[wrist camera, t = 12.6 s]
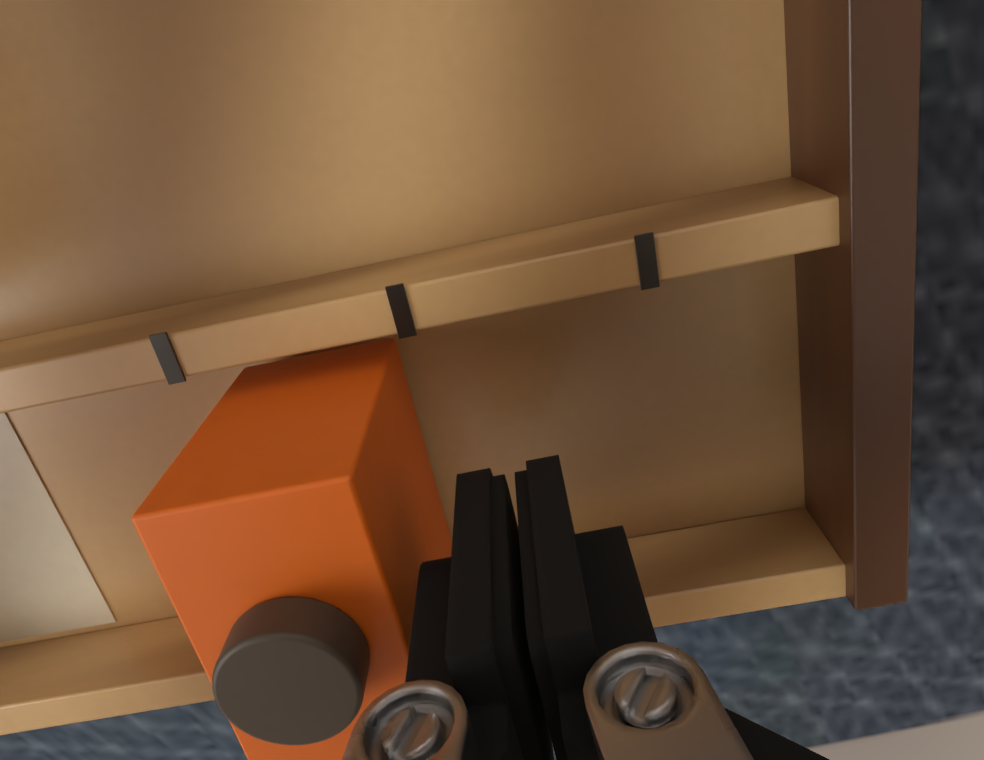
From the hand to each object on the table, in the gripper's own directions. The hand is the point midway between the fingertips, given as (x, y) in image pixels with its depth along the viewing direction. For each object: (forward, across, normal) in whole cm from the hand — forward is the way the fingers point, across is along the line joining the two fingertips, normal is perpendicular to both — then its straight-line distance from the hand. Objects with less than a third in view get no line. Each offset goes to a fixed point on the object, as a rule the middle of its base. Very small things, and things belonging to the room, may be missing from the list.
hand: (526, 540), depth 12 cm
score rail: (+5, +5, -4) cm, 8 cm away
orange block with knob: (+3, +3, 0) cm, 5 cm away
